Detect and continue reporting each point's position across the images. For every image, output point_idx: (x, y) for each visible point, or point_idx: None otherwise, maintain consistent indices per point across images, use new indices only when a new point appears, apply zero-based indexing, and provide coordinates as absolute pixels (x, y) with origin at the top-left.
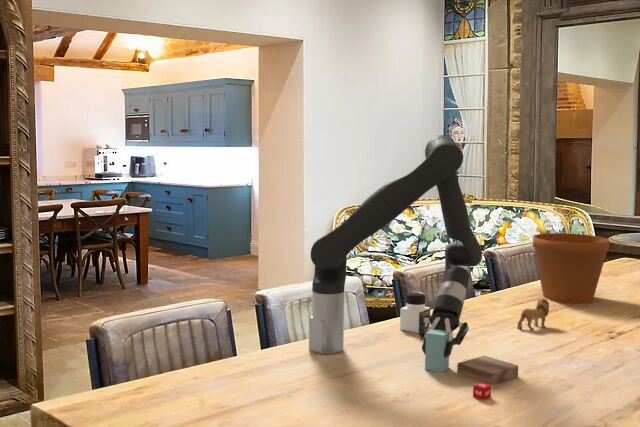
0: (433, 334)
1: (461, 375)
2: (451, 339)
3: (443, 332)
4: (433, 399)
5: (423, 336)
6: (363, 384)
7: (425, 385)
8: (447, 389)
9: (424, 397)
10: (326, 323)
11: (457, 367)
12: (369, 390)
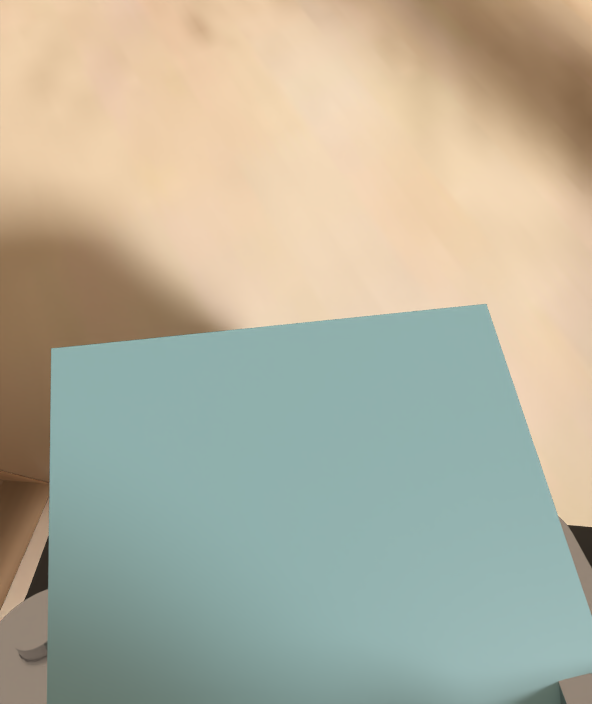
0: (326, 328)
1: (6, 472)
2: (1, 652)
3: (180, 625)
4: (50, 18)
5: (580, 544)
6: (433, 51)
7: (174, 163)
8: (24, 164)
9: (104, 23)
10: None
11: (25, 482)
12: (366, 7)
